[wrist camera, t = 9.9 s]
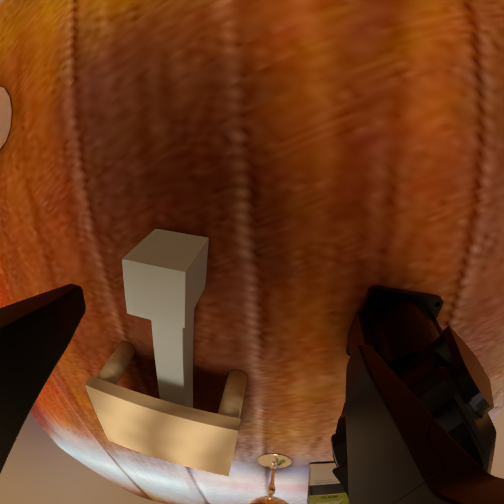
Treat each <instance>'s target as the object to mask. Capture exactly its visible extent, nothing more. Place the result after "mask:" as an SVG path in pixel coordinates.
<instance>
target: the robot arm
mask: <svg viewBox="0 0 504 504" xmlns="http://www.w3.org/2000/svg"><path fill="white" fill-rule="evenodd" d="M374 292H378V293H377V294H376V295H373V293H374ZM436 302H438V303H437V304H435V303H436ZM442 305H443V300H442V299H441V297H439V296H435V295H429V294H422V293H416V292H410V291H404V290H398V289H392V288H386V287H380V286H373V287H371V288H370V289H369V291H368V293H367V296H366V299H365V301H364V304H363V307H362V309H361V310H360V311H359V312H357V314H356V317H355V319H354V322H353V325H352V327H351V330H350V332H349V335H348V344H347V347H346V353H347V354H348V355H349V356H351V357H350V359H349V362H348V364H347V372H346V400H345V403H344V407H343V411H342V414H341V416H340V418H339V419H338V424H337V429H336V433H335V434H333V435H332V439H331V443H332V451H333V458H334V461H335V464H336V468H334V469H333V470H332V472H333V474H334V475H335V477H336V478H337V479H338V481H339V482H340V483H341V484H342V486H343V488H344V490H345V492H346V494H347V496H348V499H349V504H504V479H502V478H498V477H495V476H493V475H491V474H490V473H491V467H492V462H493V456H494V448H495V441H496V430H495V427H494V425H493V423H492V421H491V419H490V416H489V414H488V412H489V411H490V410H491V409H493V408H494V404H493V397H492V391H491V385H490V380H489V378H488V376H487V375H486V373H485V371H484V369H483V368H482V366H481V364H480V362H479V361H478V359H477V357H476V356H475V355H474V354H473V352H472V351H471V350H470V349H469V348H468V346H467V345H466V344H465V343H464V342H463V341H462V339H461V338H460V337H459V336H458V335H457V334H456V333H455V331H454V330H453V329H452V328H451V327H450V326H448V327H447V328H446V329H445V330H444V331H442V329H441V327H440V326H439V324H438V322H437V320H436V318H437V316H438V313H439V311H440V309H441V307H442ZM85 309H86V305H85V300H84V294H83V289H82V288H81V287H80V286H78V285H75V284H68V285H65V286H62V287H60V288H57V289H54V290H51V291H48V292H45V293H42V294H39V295H36V296H33V297H31V298H28V299H25V300H22V301H19V302H16V303H14V304H11V305H8V306H5V307H2V308H0V473H1V471H2V468H3V466H4V464H5V462H6V459H7V457H8V455H9V453H10V451H11V449H12V446H13V444H14V442H15V440H16V437H17V436H18V434H19V432H20V430H21V428H22V425H23V424H24V422H25V420H26V418H27V416H28V414H29V412H30V410H31V408H32V407H33V405H34V403H35V401H36V399H37V397H38V396H39V394H40V392H41V390H42V388H43V387H44V385H45V383H46V381H47V380H48V378H49V376H50V375H51V373H52V371H53V370H54V368H55V366H56V364H57V363H58V361H59V360H60V358H61V356H62V355H63V353H64V351H65V350H66V348H67V346H68V344H69V342H70V341H71V339H72V337H73V334H74V332H75V330H76V329H77V327H78V325H79V323H80V321H81V319H82V317H83V315H84V313H85Z"/></svg>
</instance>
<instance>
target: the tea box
mask: <svg viewBox="0 0 504 504" xmlns="http://www.w3.org/2000/svg"><path fill="white" fill-rule="evenodd" d="M334 468H336V464H335V463H324V464H310V465H309V483H308V499H307V504H349V499H348V496H347V494H346V492H345V490H344V488H343V486H342V484H341V483H340V482H339V481H338V479H337V478H336V477H335V475H334V474H333V472H332V470H333V469H334Z"/></svg>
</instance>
